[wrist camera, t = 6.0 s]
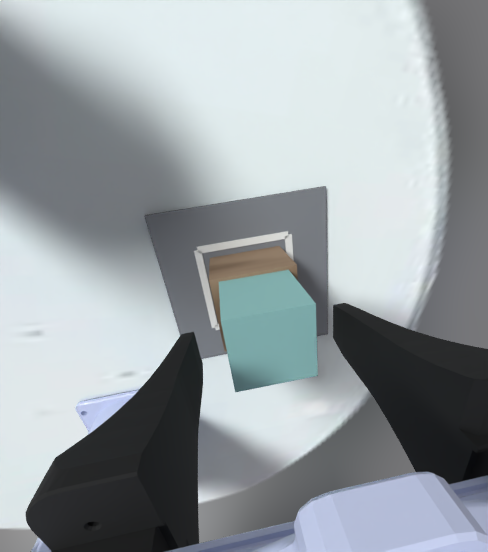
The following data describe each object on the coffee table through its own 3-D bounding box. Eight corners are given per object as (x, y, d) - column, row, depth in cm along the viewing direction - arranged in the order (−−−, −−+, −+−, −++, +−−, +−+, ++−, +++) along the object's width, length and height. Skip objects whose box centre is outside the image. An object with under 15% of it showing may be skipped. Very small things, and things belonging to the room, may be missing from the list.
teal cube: (292, 328, 16) (317, 375, 12) (229, 339, 15) (235, 392, 12) (288, 269, 14) (316, 303, 10) (218, 281, 14) (220, 320, 10)
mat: (326, 331, 21) (328, 334, 21) (188, 358, 21) (187, 362, 20) (324, 186, 17) (326, 186, 16) (145, 215, 16) (144, 216, 16)
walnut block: (284, 306, 20) (301, 336, 16) (222, 317, 19) (224, 351, 16) (279, 245, 18) (296, 264, 14) (209, 257, 17) (208, 280, 14)
